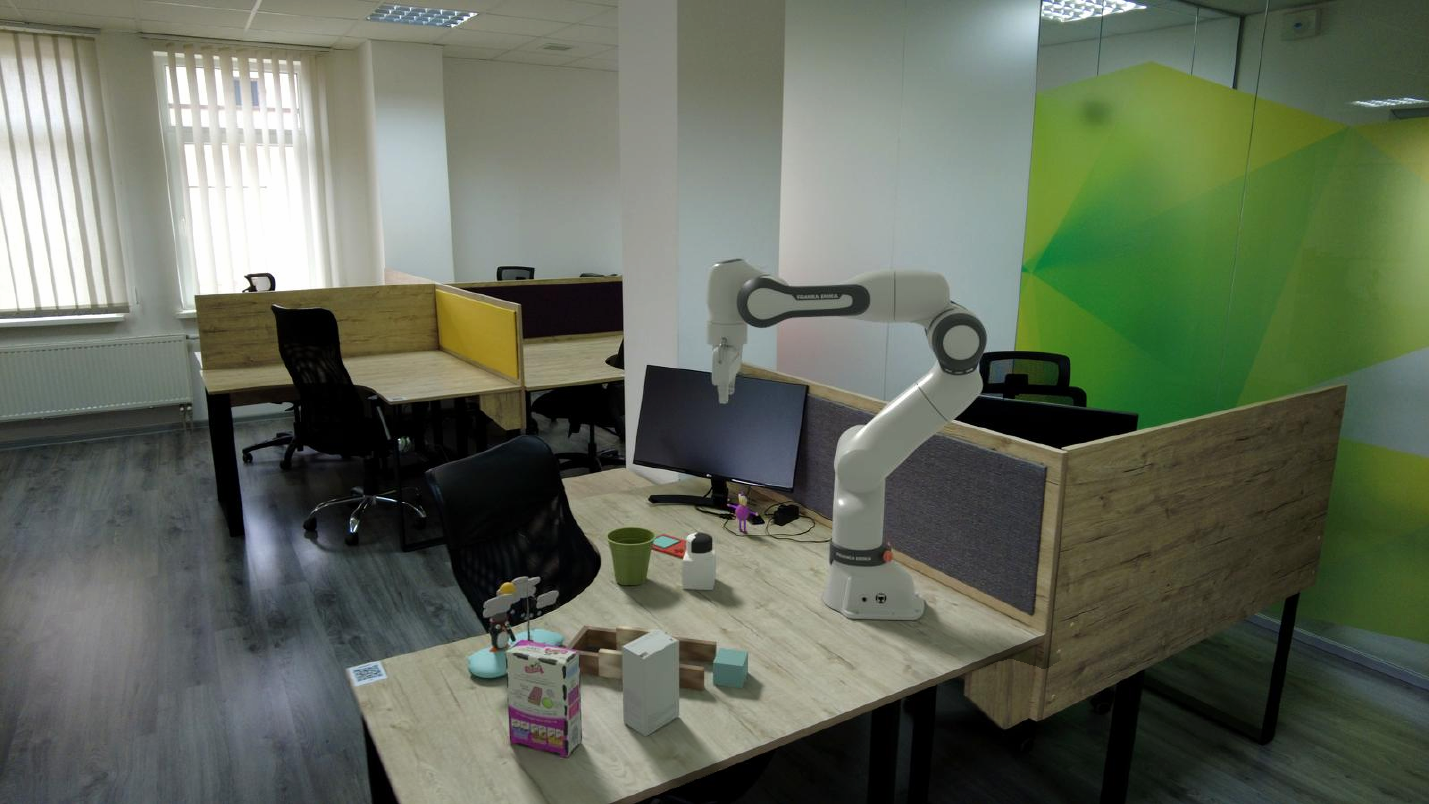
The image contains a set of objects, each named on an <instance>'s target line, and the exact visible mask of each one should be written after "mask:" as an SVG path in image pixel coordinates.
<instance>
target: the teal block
mask: <svg viewBox="0 0 1429 804" xmlns="http://www.w3.org/2000/svg"><path fill="white" fill-rule="evenodd" d="M748 673H749V651H747V650H740V649H733V648H732V649H731V648H725V647H724V648H723V647H722V648H721V647H719V648H718V651H717V652H716V657H715V659H714V662H713V664H712V685H719V686H727V687H733V688H738V689H739V688H740V689H741V688H743V687H744V684H745V681H746V679H747V676H748Z"/></svg>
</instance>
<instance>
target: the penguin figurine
mask: <svg viewBox="0 0 1429 804" xmlns="http://www.w3.org/2000/svg"><path fill="white" fill-rule="evenodd" d="M540 582H541V577H540V576H536V577H531V578H529V577H528V576H520V577H517V578H515V579H513V580H512V581H511V582H504V583H503V584H501V586H500V587H499V589H498V590H497V591H496V597H493V598H491V599H488V600H487V601H485V602H484V603H483V609H484V610H483V612H482V615H483V618H486V619H487V618H489V622H490V627H489V628H488V632H487V633H488V635H490V637H491V638H490V639H491V640H490V641H491V645H492V646H489V647H486V648H483V649H479V650H478V651H476V652H475V653H473V654H471V655H470V656H468V657H467V658H466V661H467V663H468V664H469V666H468V670H469V671H470V673H472V674H473V675H474V676H477V677H479V678H484V679H495V678H499V677H502V676H505V675H507V672H506V653H505V652H506V651H507V650H509V649H510V648H511V647H513V646H514V645H515V644H516V643H518V642H519V641H520V640H527V641H532V642H537V643H542V644H547V645H552V646H557V647H560V646H561V645H562V644H563V643H564V641H565V637H564V636H563V635H562V634H560V633H557V632H553V631H552V630H551V631H550V630H548V629H547V630H546V629H543V628H536V627H533V628H531V629H530V618H531V619H532V618H533V613H531V612H530V611H529V610H530V606H533V604H532V603H531V604H530V606H529V600H528V599H529V597H530V596H533V595H534V594H535V593H536V590H537V588H536V585H537V584H539V583H540ZM559 595H560V593H559V591H558V590H552V591H549V592H547V593H543V594H541V595H538V597H536V599H535V598H533V600H534V599H535V600H536V602H537V603H536V609H542V608H544V607H546V606H551V605H554V604H555V603H556V602H557V598H558V597H559ZM525 598H526V605H527V607H525V603H523V604H522V606H523V607H524V608H525V612H526V614H525V612H523V613H522V614H521V617H524V620H527V623H525V622H523V623H524V624H525V625H526V626H525V627H524V628H525V630H524V631H522V632H519V633H517V634H515V633H514V632H513V630H512V625H510V622H509V618H510V617H509V615H507V612H508V611H509V610H510V609H511V607H512V606H511V605H512V604H515V603H517V602H519V601H520V600H521V599H525ZM514 613H515V610H514V609H512V610H511V612H510V615H511V614H514ZM541 614H542V611H540V610H538V613H537V614H536V615H537V616H541ZM547 624H548V621H546V622H544V623H543V625H544V627H546V626H547ZM520 627H521V626H518V625H517V627H516V629H515V630H516V631H517V630H519V629H520ZM535 628H536V629H535Z"/></svg>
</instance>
